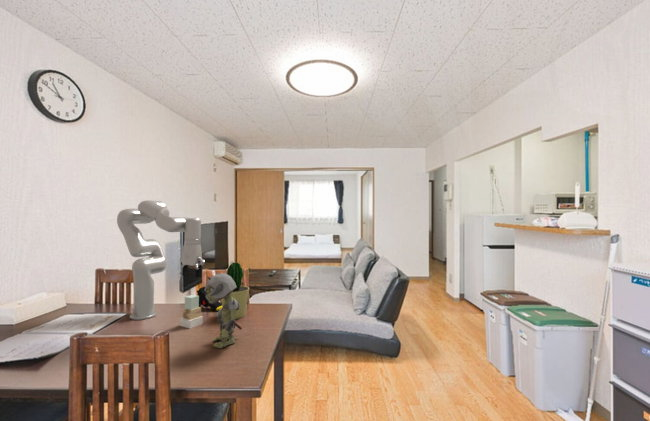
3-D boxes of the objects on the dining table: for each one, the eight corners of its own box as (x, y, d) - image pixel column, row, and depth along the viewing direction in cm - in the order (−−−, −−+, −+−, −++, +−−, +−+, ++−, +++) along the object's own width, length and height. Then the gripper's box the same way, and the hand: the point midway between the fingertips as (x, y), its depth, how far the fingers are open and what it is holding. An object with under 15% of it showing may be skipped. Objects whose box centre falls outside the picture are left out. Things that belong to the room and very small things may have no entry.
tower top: (182, 317, 153) (183, 308, 153) (193, 314, 158) (193, 305, 158) (190, 319, 150) (190, 310, 150) (201, 316, 155) (201, 307, 155)
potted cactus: (252, 312, 175) (253, 259, 176) (242, 321, 160) (243, 263, 160) (227, 310, 177) (227, 259, 177) (214, 319, 161) (215, 262, 162)
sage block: (184, 308, 153) (184, 296, 153) (192, 306, 157) (192, 294, 157) (191, 310, 151) (191, 298, 151) (198, 307, 155) (198, 295, 155)
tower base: (179, 326, 152) (180, 318, 152) (192, 321, 159) (192, 314, 159) (190, 328, 149) (190, 320, 149) (202, 324, 155) (202, 316, 156)
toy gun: (208, 324, 176) (219, 308, 174) (188, 303, 181) (198, 287, 179) (213, 321, 181) (224, 305, 179) (194, 300, 186) (204, 285, 184)
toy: (203, 338, 137) (205, 271, 137) (241, 334, 142) (242, 269, 143) (203, 352, 122) (204, 277, 123) (244, 347, 128) (245, 275, 129)
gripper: (174, 241, 156) (174, 275, 155) (198, 243, 148) (197, 279, 147) (187, 241, 162) (186, 273, 162) (210, 242, 154) (209, 276, 154)
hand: (191, 276), depth 155 cm, fingers open, 9 cm apart
